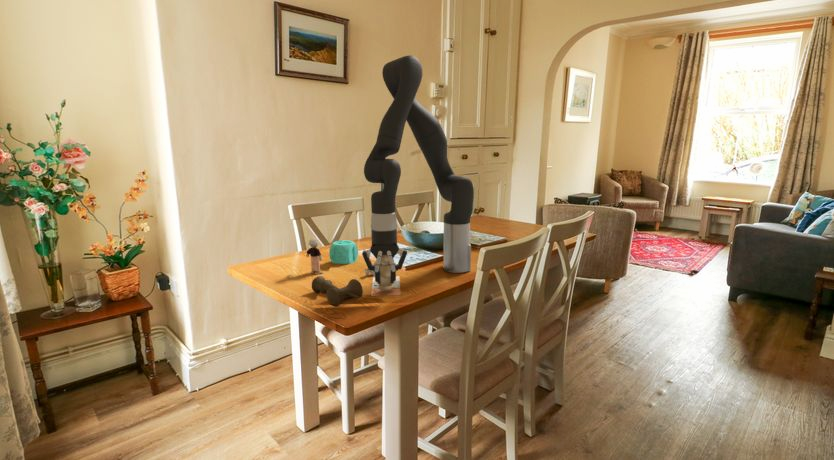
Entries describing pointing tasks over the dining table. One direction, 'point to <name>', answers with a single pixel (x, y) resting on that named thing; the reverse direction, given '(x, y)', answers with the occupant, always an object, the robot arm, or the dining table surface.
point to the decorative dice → (343, 252)
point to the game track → (378, 292)
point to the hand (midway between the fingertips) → (385, 282)
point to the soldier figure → (371, 270)
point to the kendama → (337, 290)
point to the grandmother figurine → (314, 256)
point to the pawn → (385, 274)
